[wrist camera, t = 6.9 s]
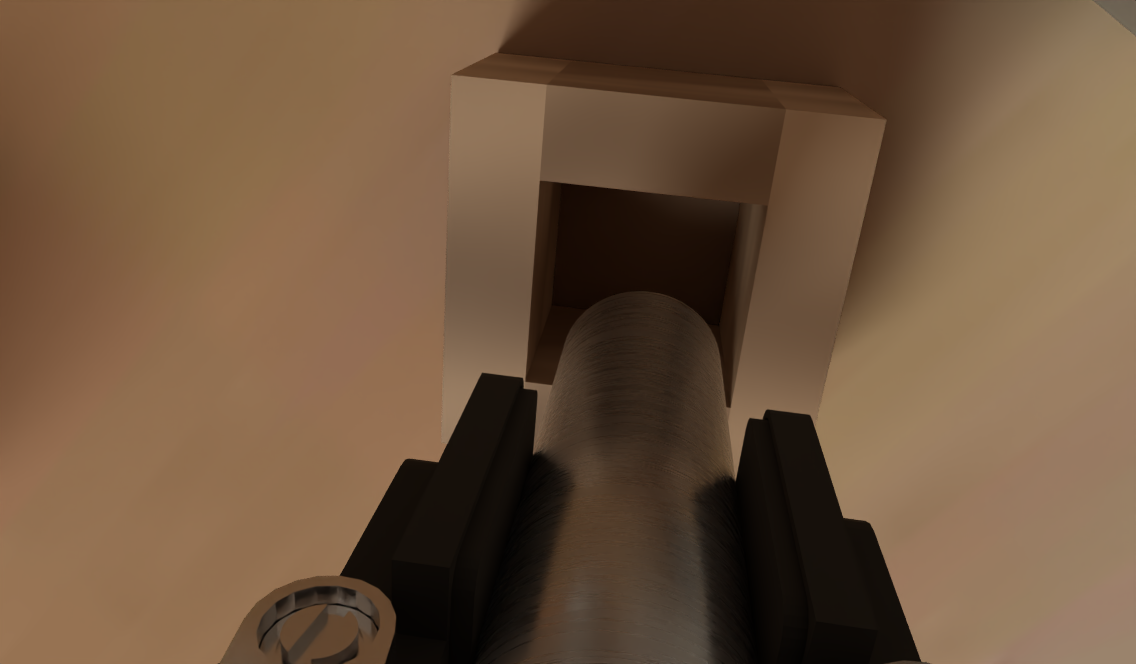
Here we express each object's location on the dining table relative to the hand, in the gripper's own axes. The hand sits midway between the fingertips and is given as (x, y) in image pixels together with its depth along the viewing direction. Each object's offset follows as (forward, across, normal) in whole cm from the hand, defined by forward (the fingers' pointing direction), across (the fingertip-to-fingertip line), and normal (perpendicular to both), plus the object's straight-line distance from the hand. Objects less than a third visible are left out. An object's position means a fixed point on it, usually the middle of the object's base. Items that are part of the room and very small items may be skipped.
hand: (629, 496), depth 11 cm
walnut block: (+11, 0, 0) cm, 11 cm away
